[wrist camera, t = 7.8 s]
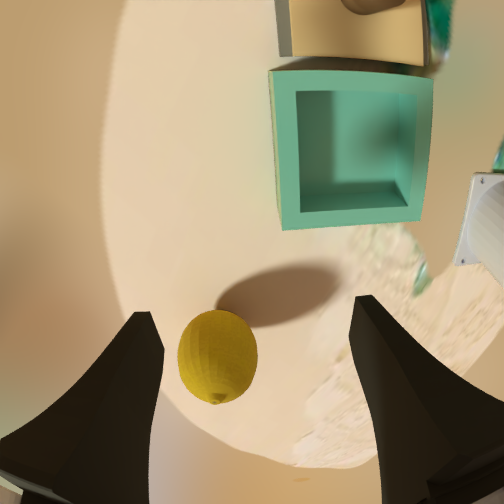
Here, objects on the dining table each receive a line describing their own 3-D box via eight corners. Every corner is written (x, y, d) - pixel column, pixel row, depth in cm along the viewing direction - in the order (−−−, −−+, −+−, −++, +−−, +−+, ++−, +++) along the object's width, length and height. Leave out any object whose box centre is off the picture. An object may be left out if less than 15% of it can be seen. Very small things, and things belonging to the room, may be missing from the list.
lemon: (229, 276, 23) (224, 368, 16) (268, 322, 26) (275, 409, 19) (171, 306, 24) (151, 392, 18) (213, 346, 27) (207, 428, 20)
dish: (407, 74, 15) (433, 79, 13) (400, 199, 20) (420, 221, 17) (267, 70, 15) (272, 71, 13) (277, 207, 20) (282, 230, 18)
